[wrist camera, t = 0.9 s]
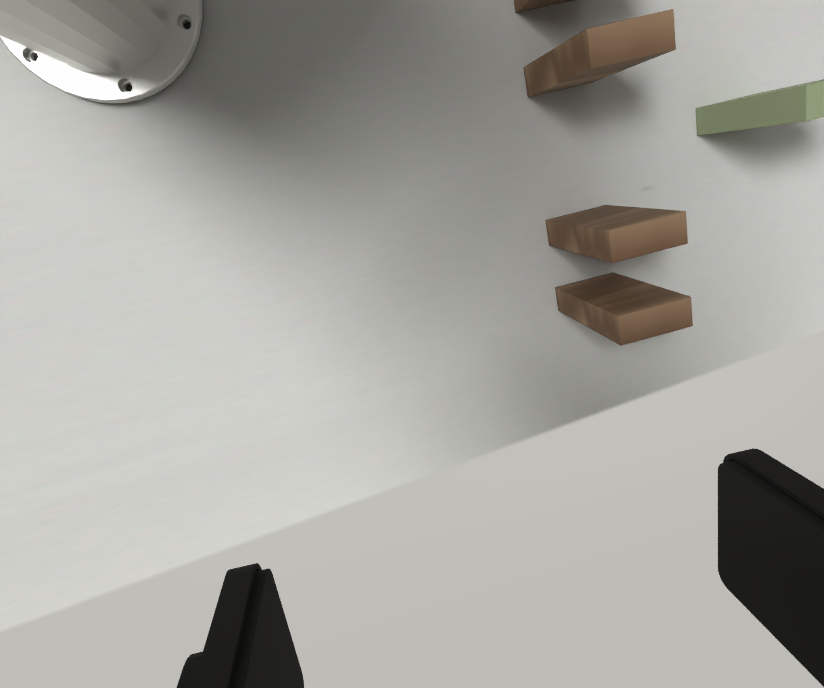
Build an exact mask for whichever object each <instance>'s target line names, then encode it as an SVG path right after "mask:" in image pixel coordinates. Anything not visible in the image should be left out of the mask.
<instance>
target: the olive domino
mask: <svg viewBox="0 0 824 688" xmlns="http://www.w3.org/2000/svg"><path fill="white" fill-rule="evenodd" d="M821 117H824V80H819V81H814V82H809V83H805V84H800V85H795V86H791V87H786V88H781V89H776V90H772V91H767V92H762V93H758V94H753V95H749V96H745V97H741V98H737V99H732V100H728V101H724V102H720V103H716V104H712V105H708V106H703V107H699V108H696V121H697V136H698V135H706V134H713V133H721V132H728V131H736V130H744V129H751V128H759V127H766V126H774V125H781V124H789V123H797V122H804V121H809V120H813V119H817V118H821Z"/></svg>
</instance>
